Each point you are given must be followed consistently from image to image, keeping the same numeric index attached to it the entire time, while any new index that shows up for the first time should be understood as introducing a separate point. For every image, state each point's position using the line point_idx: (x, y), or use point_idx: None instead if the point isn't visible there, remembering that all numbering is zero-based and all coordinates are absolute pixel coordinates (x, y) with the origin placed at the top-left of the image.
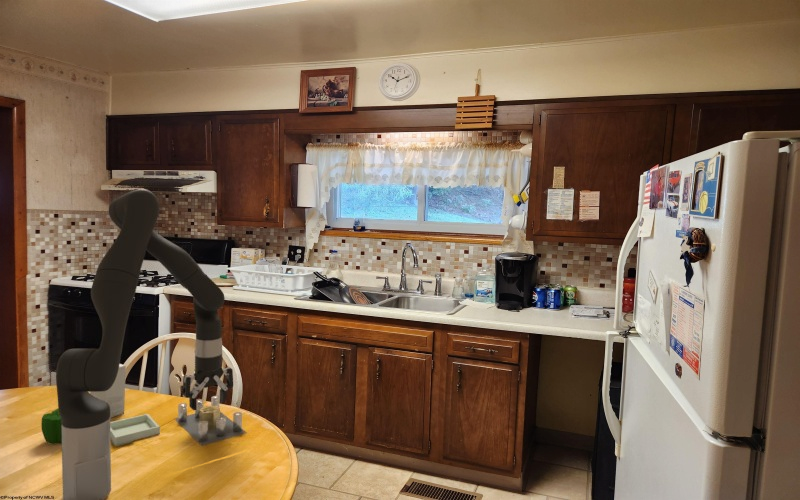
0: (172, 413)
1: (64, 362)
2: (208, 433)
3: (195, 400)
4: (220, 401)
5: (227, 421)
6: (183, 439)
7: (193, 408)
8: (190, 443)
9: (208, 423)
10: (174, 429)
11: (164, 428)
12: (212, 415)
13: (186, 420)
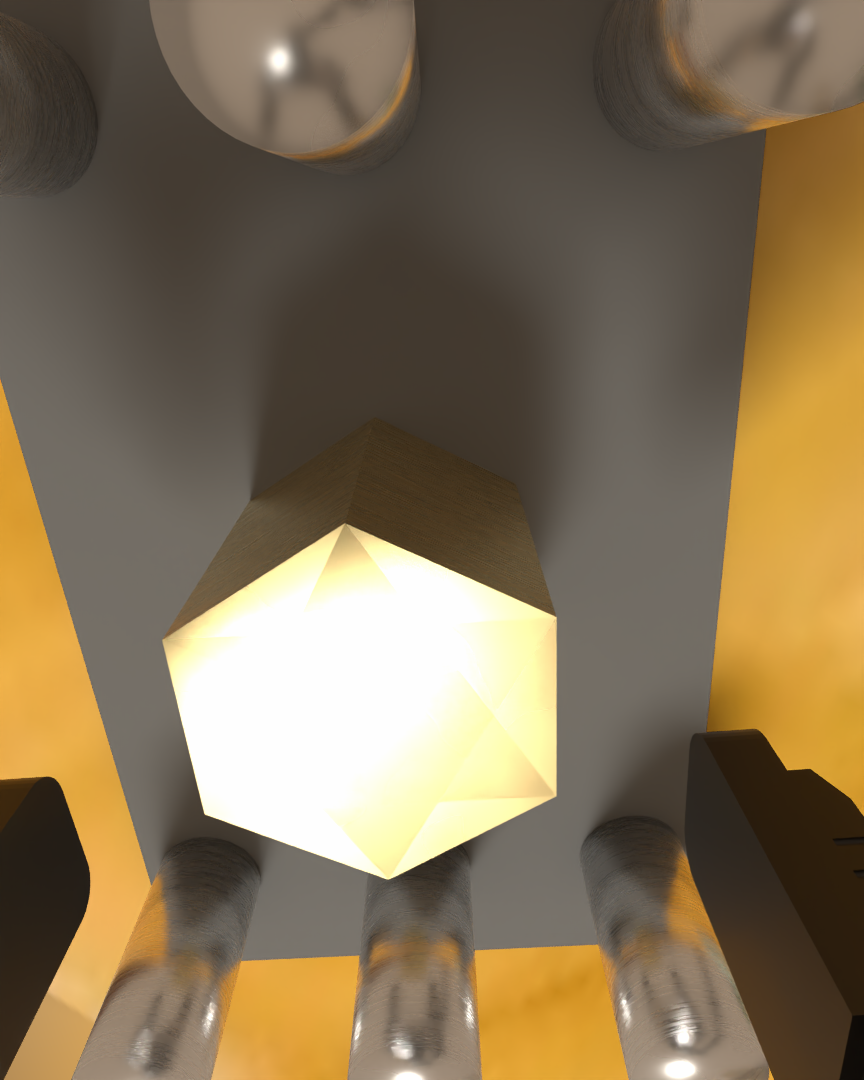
0: (618, 1057)
1: None
2: (497, 291)
3: (847, 935)
4: (81, 870)
5: (116, 554)
6: (850, 359)
7: (772, 770)
8: (844, 142)
9: (446, 478)
10: (785, 715)
11: (859, 794)
12: (373, 505)
13: (596, 833)
